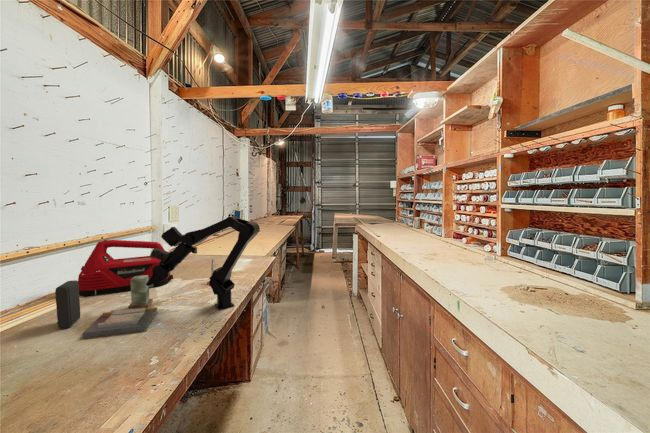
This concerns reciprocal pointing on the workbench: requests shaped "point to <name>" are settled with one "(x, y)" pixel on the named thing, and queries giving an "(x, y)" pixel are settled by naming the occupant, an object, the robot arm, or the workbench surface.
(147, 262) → the power tool
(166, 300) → the workbench surface
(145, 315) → the dock plate
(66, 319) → the card reader
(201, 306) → the workbench surface
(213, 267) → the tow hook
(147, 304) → the layered pillar on plinth
